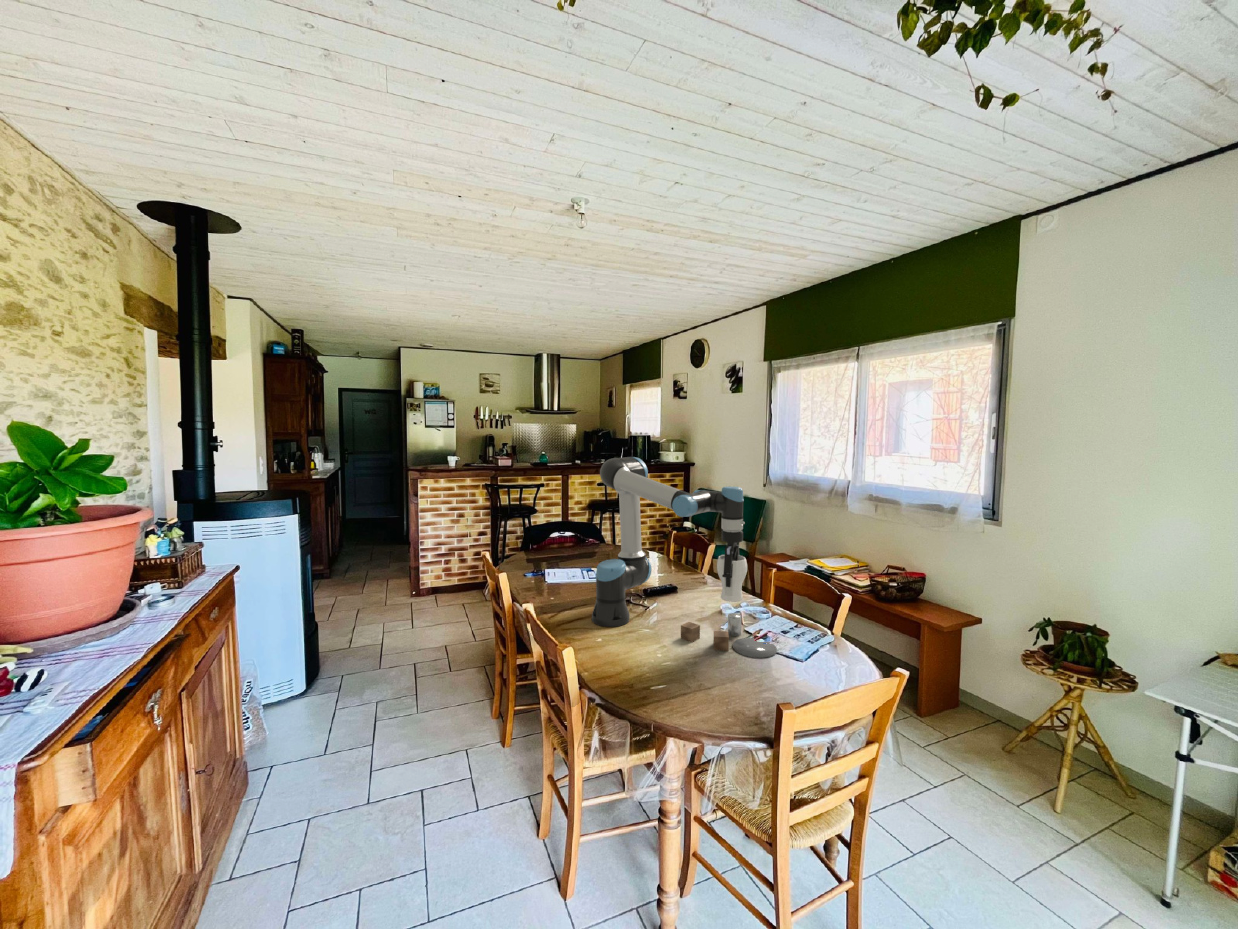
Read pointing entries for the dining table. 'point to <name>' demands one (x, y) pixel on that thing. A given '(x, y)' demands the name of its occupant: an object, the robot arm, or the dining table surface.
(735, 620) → the grey tin
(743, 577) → the cup
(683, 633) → the walnut block
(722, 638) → the walnut block
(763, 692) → the dining table surface
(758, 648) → the disc
